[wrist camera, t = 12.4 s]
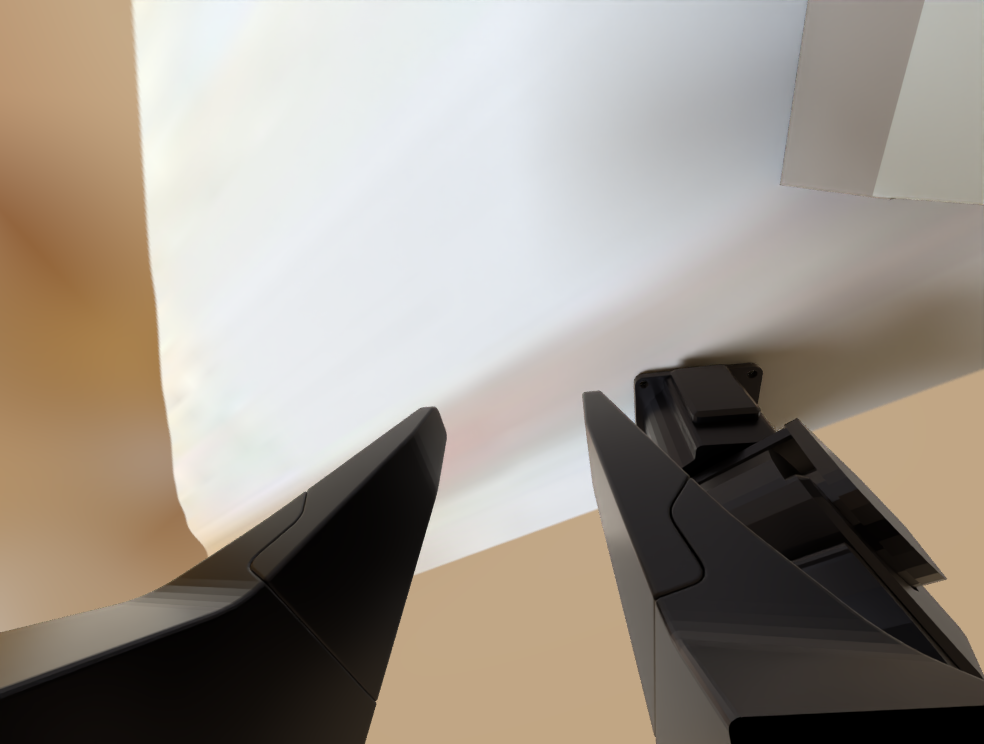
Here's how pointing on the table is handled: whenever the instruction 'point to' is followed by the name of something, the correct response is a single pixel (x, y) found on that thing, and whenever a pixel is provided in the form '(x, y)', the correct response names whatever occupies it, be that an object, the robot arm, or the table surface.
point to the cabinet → (847, 92)
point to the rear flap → (940, 110)
